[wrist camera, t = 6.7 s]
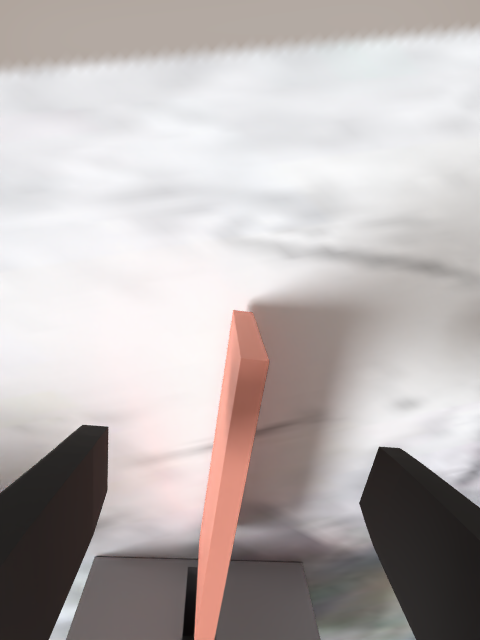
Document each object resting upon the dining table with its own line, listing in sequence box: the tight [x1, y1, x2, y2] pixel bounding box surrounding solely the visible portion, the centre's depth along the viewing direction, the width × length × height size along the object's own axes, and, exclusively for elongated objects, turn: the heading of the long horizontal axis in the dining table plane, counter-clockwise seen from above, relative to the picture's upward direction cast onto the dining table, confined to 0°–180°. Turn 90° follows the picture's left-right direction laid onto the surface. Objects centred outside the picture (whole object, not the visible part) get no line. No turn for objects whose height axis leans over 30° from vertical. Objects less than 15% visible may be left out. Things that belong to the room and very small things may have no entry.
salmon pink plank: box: [194, 310, 269, 640], centre depth 13 cm, size 13×1×4 cm, turn 172°
